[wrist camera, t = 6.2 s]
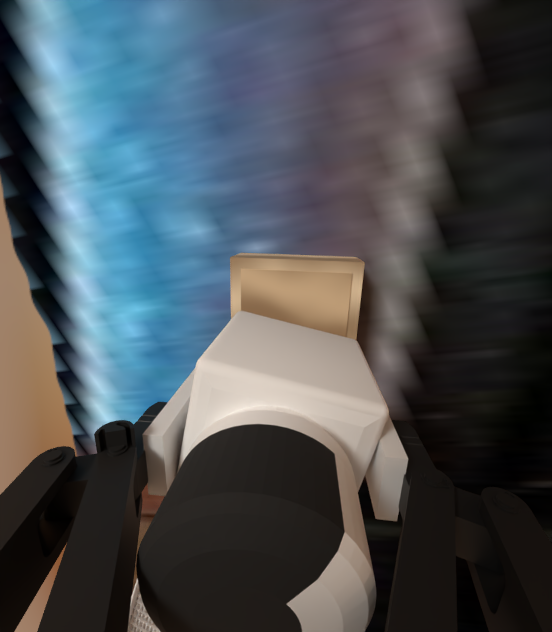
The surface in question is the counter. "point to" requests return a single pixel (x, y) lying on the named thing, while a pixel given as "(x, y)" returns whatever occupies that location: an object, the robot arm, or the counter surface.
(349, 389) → the medicine bottle
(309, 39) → the counter surface
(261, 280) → the base block
